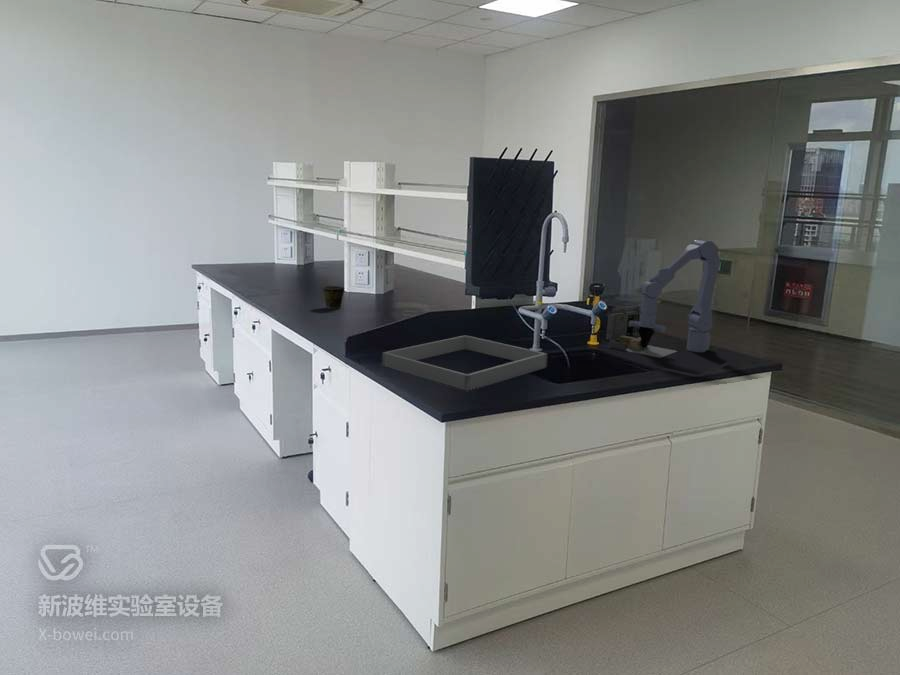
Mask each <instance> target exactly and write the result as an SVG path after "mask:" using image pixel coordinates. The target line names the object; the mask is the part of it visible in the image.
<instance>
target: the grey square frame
mask: <svg viewBox="0 0 900 675" xmlns="http://www.w3.org/2000/svg"><path fill="white" fill-rule="evenodd" d="M461 350H462V351H463V350H468V351H472V352H476V353H479V354H484V355H488V356H492V357H498V358H500V359H501V358H502V359H506V360H510V361H511V362H506V363H503V364H499V365H496V366H492V367H489V368H484V369H482V370H478V371H473V372H471V373H470V372H469V373H463V372H459V371H457V370H452V369H449V368H445V367H441V366H438V365H434V364H431V363H427V362H423V361H420V360H423V359H428V358H432V357H437V356H441V355H446V354H449V353H453V352H458V351H461ZM382 366H385V367H389V368H392V369H395V370H398V371H401V372H405V373H409V374H412V375H415V376H419V377H422V378H426V379H429V380H433V381H436V382H439V383H443V384H446V385H450V386H453V387H456V388H459V389H463V390H466V391H467V392H469V391H468V390H471V391H473V390H472V389H474V390H476V389H475V388H477V389H480V388H479V387H481V388H484V387H487V386H489V385H493V384H496V383H500V382H503V381H506V380H510V379H512V378H516V377H519V376H520V377H521V376H524V375H527V374H529V373H533V372H536V371H539V370H543V369H546V368H547V366H548V353H546V352H542V351H537V350H534V349H529V348H524V347H520V346H516V345H511V344H507V343H506V344H505V343H502V342H497V341H493V340H489V339H484V338H479V337H476V336H471V335H467V334H466V335H465V334H464V335H460V336H455V337H451V338H446V339H442V340H441V339H440V340H436V341H435V340H434V341H432V342H430V341H429V342H425V343H421V344H418V345H417V344H416V345H412V346H409V347H408V346H407V347H403V348H397V349H394V350H393V349H392V350H389V351H383V352H381V367H382ZM401 372H400V373H401ZM415 376H414V377H415ZM439 383H438V384H439ZM483 386H484V387H483ZM456 388H455V389H456ZM459 389H458V390H459ZM463 390H462V391H463ZM466 391H465V392H466Z"/></svg>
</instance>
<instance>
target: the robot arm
mask: <svg viewBox="0 0 900 675" xmlns="http://www.w3.org/2000/svg"><path fill="white" fill-rule="evenodd" d="M691 260H700V261H701V262H702V264H703V265H704V267H703V270H702V276H701V280H700V283H699V288H698V293H697V297H696V302H695V304H694V306H693V307H692V308H691V310H690V312H689V314H688V315H687V318H686V321H687V324H688V326H689V327H688V332H687V333H688V334H687V343H686V350H687V351H690V352H692V353H693V352H694V353H705V352H707V351H709V350H710V342H711V334H710V332H709V331H710V329H712V327H713V323H714V322H713V321H714V320H713V312H712V309H711V306H712V305H711V304H712V302H713V301H712V300H713V296H714V292H715V288H716V283H717V279H718V274H719V270H720V267H721V266H720V265H721V259H720V255H719V247H718V245H717V244H716V243H714V241H709V240H703V239H700V238H697V239H695V240H693V241H691V243H689V244H688V245H687V246H686V248H685V249H684V250H683V251H682V252H681V253H680V255H679V256H677V258H675V260H674V261H673V262H671V264H670V265H669V266H667V267H665V266H664V267H661V268H659V269H658V272H657V273H656V274H655V275H653V277H650V278H649V279H648V281H645V282H643V284H642V285H641V287H640V288H639V289H640V290H639V291H640V293H641V294H642V295H641V314H640V322H638V321H629V326H634V327H639V329H638V332H639V334H640V337H641V341H642V347H647V346H648V345H649V343H650V341H651V338H652V336H653V335H654V334H655V332H656V331H657V332H660V333H661V332H662V333H665V332H666V329H667V328H666V327H667V326H666V325H660V324H657V323H656V318H657V316H656V315H657V305H658V299H659V298H658V296H661V294H662V290H663V289H664V288H665V287H666V286H667V285H668V284H670V282H672V281H673V280H674V279H675V275H676V273H677V272H678V271H679V270H680V269H682V268H683V267H684V266H686V265H687V264H688V263H689V262H690V261H691Z"/></svg>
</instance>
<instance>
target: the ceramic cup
mask: <svg viewBox="0 0 900 675" xmlns="http://www.w3.org/2000/svg"><path fill="white" fill-rule="evenodd" d="M322 289H323V290H322V291H323V295H324V299H325V300H324V301H325V306H326V309H328V310H340V309H341V308H342V302H343V296H344V291H345V286H344V287H343V286H340V285H339V286H336V285H330V286H323V288H322Z"/></svg>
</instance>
